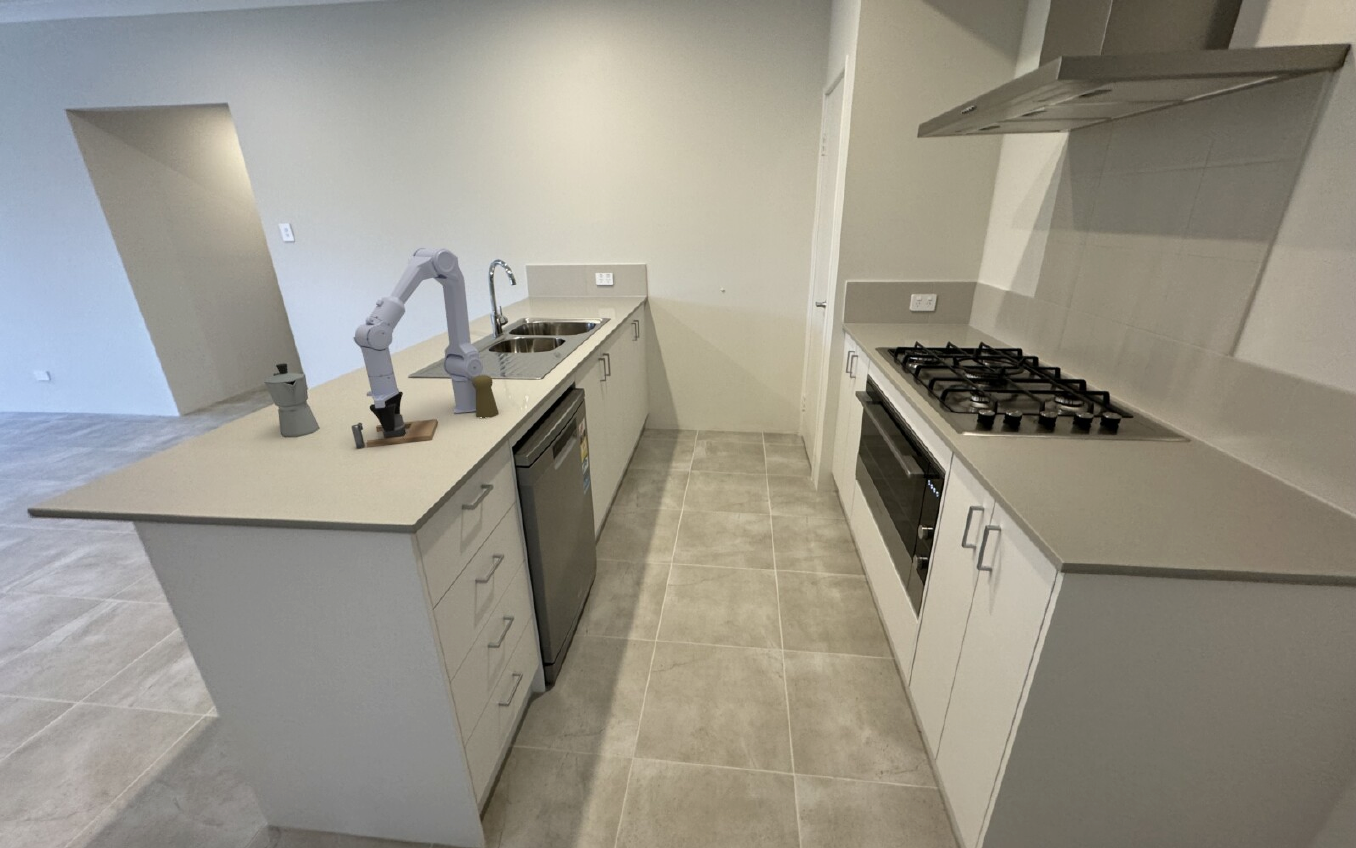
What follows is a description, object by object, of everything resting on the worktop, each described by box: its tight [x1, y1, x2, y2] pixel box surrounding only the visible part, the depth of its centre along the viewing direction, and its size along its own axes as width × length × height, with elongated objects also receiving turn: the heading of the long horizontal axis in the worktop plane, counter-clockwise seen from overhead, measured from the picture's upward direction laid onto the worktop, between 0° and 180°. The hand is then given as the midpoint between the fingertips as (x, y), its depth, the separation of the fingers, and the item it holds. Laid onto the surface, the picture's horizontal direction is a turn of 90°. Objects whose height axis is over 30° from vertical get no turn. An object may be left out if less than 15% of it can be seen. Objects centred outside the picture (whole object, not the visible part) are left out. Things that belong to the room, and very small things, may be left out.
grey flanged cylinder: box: [380, 413, 407, 439], centre depth 139 cm, size 5×5×5 cm
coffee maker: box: [264, 363, 321, 439], centre depth 141 cm, size 15×9×18 cm, turn 47°
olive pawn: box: [472, 374, 499, 419], centre depth 151 cm, size 6×6×11 cm
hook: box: [351, 422, 366, 450], centre depth 133 cm, size 2×5×6 cm, turn 16°
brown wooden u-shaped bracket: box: [365, 418, 439, 448], centre depth 140 cm, size 14×12×1 cm
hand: (392, 426), depth 138 cm, fingers open, 6 cm apart
